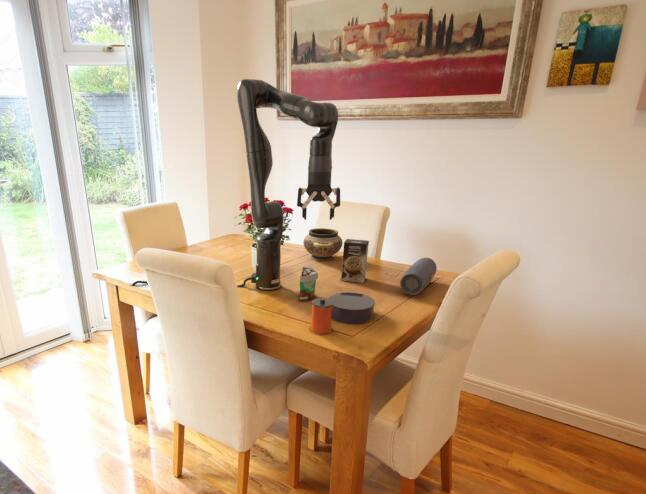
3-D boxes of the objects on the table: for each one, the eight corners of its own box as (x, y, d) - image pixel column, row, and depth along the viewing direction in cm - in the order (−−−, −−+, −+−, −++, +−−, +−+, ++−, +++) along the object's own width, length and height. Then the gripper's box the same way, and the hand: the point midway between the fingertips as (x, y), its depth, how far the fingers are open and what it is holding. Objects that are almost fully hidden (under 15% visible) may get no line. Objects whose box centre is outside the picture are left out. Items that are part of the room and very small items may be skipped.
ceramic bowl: (334, 272, 206) (344, 240, 200) (296, 260, 208) (305, 229, 202) (337, 256, 228) (346, 228, 221) (302, 246, 230) (311, 218, 224)
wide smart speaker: (328, 322, 150) (328, 308, 148) (326, 304, 164) (327, 291, 162) (376, 324, 148) (377, 310, 146) (370, 306, 162) (372, 293, 160)
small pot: (307, 331, 145) (308, 301, 141) (315, 323, 150) (316, 294, 146) (327, 335, 142) (328, 304, 138) (334, 327, 147) (336, 297, 143)
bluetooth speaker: (423, 300, 166) (427, 274, 162) (397, 295, 171) (400, 270, 167) (436, 281, 183) (440, 257, 180) (412, 278, 188) (415, 254, 184)
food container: (316, 303, 166) (317, 277, 162) (299, 302, 167) (300, 276, 163) (317, 291, 177) (319, 266, 173) (301, 290, 178) (302, 266, 174)
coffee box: (340, 280, 187) (343, 242, 181) (343, 275, 193) (346, 238, 187) (363, 283, 184) (366, 244, 178) (365, 278, 190) (369, 239, 183)
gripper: (341, 168, 152) (338, 217, 159) (298, 168, 154) (297, 216, 161) (342, 170, 145) (339, 221, 152) (297, 171, 147) (296, 221, 154)
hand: (317, 219), depth 156 cm, fingers open, 8 cm apart
